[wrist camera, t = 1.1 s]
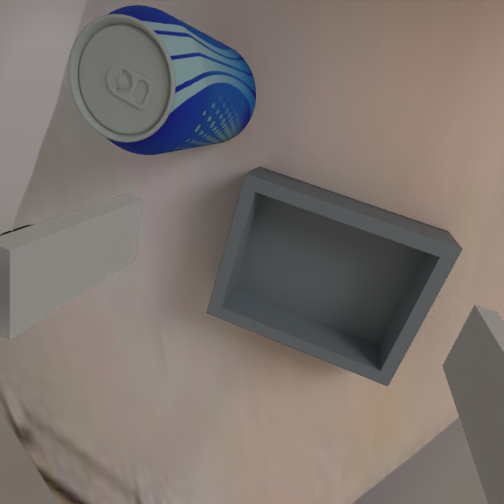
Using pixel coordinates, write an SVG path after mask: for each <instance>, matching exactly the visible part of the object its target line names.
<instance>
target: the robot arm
mask: <svg viewBox="0 0 504 504" xmlns="http://www.w3.org/2000/svg"><path fill="white" fill-rule="evenodd" d="M142 207H143V199H141V198H138V197H135V196H132V195H129V194H125V195H122V196H119V197H116V198H113V199H110V200H107V201H104V202H101V203H98V204H95V205H92V206H89V207H86V208H83V209H80V210H77V211H74V212H71V213H68V214H65V215H62V216H59V217H56V218H53V219H50V220H47V221H44V222H41V223H38V224H34V225H26V226H23V227H20V228H17V229H14V230H13V231H8V232H5V233H2V235H0V336H3V337H5V338H8V339H11V338H13V337H15V336H16V335H18V334H19V333H21V332H22V331H24V330H26V329H27V328H29V327H30V326H32V325H33V324H35V323H37V322H38V321H40V320H41V319H43V318H44V317H46V316H48V315H49V314H51V313H52V312H54V311H55V310H57V309H59V308H60V307H62V306H63V305H65V304H66V303H68V302H70V301H71V300H73V299H74V298H76V297H77V296H79V295H81V294H82V293H84V292H85V291H87V290H88V289H90V288H92V287H93V286H95V285H96V284H98V283H99V282H101V281H103V280H104V279H106V278H107V277H109V276H110V275H112V274H113V273H115V272H117V271H118V270H120V269H121V268H123V267H124V266H126V265H128V264H129V263H131V262H132V261H134V260H135V259H136V251H137V244H138V236H139V229H140V222H141V214H142ZM443 369H444V372H445V375H446V378H447V381H448V384H449V387H450V390H451V393H452V396H453V399H454V402H455V405H456V408H457V411H458V414H459V417H460V420H461V423H462V426H463V429H464V432H465V435H466V438H467V441H468V444H469V447H470V450H471V453H472V456H473V459H474V462H475V465H476V468H477V471H478V474H479V477H480V480H481V483H482V487H483V490H484V493H485V495H486V499H487V502H488V504H504V321H503V320H502V318H501V317H500V315H499V314H498V312H496V311H493V310H490V309H487V308H483V307H480V306H477V305H474V307H473V309H472V311H471V313H470V315H469V317H468V319H467V320H466V322H465V324H464V326H463V328H462V330H461V332H460V334H459V336H458V338H457V339H456V341H455V343H454V345H453V347H452V349H451V351H450V353H449V355H448V357H447V358H446V360H445V362H444V364H443Z"/></svg>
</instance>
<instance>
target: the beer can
mask: <svg viewBox="0 0 504 504" xmlns="http://www.w3.org/2000/svg"><path fill="white" fill-rule="evenodd" d="M68 73H69V84H70V89H71V93H72V96H73V99H74V102H75V104H76V106H77V108H78V110H79V112H80V114H81V115H82V117H83V118H84V119H85V121H86V122H87V123H88V124H89V125H90V126H91V127H92V128H93V129H94V130H95V131H97V132H98V133H100V134H101V135H103V136H105V137H106V138H107V139H109V140H110V141H111V142H112V143H114V144H115V145H117V146H119V147H121V148H122V149H124V150H127V151H129V152H132V153H136V154H143V155H155V154H161V153H167V152H172V151H178V150H183V149H189V148H194V147H200V146H205V145H211V144H216V143H221V142H225V141H228V140H230V139H232V138H233V137H235V136H236V135H238V134H239V133H240V132H241V131H242V130H243V129H244V128H245V126H246V125H247V124H248V122H249V120H250V118H251V116H252V114H253V111H254V107H255V101H256V87H255V81H254V78H253V75H252V72H251V70H250V68H249V66H248V64H247V63H246V61H245V60H244V59H243V58H242V57H241V56H240V55H239V54H238V53H237V52H236V51H235V50H233V49H232V48H230V47H228V46H226V45H224V44H223V43H221V42H219V41H217V40H215V39H213V38H211V37H210V36H208V35H206V34H204V33H202V32H200V31H198V30H197V29H195V28H193V27H191V26H189V25H187V24H186V23H184V22H182V21H180V20H178V19H176V18H174V17H173V16H171V15H169V14H167V13H165V12H163V11H161V10H158V9H156V8H152V7H148V6H140V5H136V6H127V7H123V8H120V9H117V10H115V11H113V12H111V13H109V14H108V15H105V16H102V17H99V18H97V19H95V20H94V21H92V22H91V23H89V24H88V25H87V26H86V27H85V28H84V29H83V30H82V31H81V33H80V34H79V35H78V37H77V39H76V41H75V43H74V45H73V48H72V51H71V54H70V59H69V69H68Z"/></svg>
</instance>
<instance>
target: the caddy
mask: <svg viewBox="0 0 504 504" xmlns="http://www.w3.org/2000/svg"><path fill="white" fill-rule="evenodd" d="M461 251H462V248H461V247H460V245H459V244H458V243H457V241H456V240H455V239H454V238H453V236H452V235H451V234H450V233H449V232H448V231H445V230H442V229H439V228H436V227H433V226H430V225H428V224H425V223H422V222H419V221H416V220H413V219H410V218H407V217H404V216H401V215H398V214H396V213H393V212H390V211H387V210H384V209H381V208H378V207H375V206H372V205H369V204H366V203H363V202H361V201H358V200H355V199H352V198H349V197H346V196H343V195H340V194H337V193H334V192H331V191H328V190H326V189H323V188H320V187H317V186H314V185H311V184H308V183H305V182H302V181H299V180H296V179H294V178H291V177H288V176H285V175H282V174H279V173H276V172H273V171H270V170H267V169H264V168H261V167H258V168H256V169H254V170H252V171H250V172H248V173H246V175H245V179H244V182H243V186H242V189H241V193H240V196H239V200H238V203H237V207H236V210H235V214H234V217H233V221H232V225H231V228H230V232H229V235H228V239H227V242H226V246H225V249H224V253H223V256H222V260H221V264H220V267H219V271H218V274H217V278H216V281H215V285H214V288H213V292H212V295H211V299H210V303H209V306H208V310H207V313H208V314H210V315H213V316H215V317H218V318H220V319H223V320H225V321H228V322H230V323H232V324H235V325H237V326H240V327H242V328H245V329H247V330H250V331H252V332H255V333H257V334H260V335H262V336H265V337H267V338H269V339H272V340H274V341H277V342H279V343H282V344H284V345H287V346H289V347H292V348H294V349H297V350H299V351H302V352H304V353H307V354H309V355H311V356H314V357H316V358H319V359H321V360H324V361H326V362H329V363H331V364H334V365H336V366H339V367H341V368H344V369H346V370H348V371H351V372H353V373H356V374H358V375H361V376H363V377H366V378H368V379H371V380H373V381H376V382H378V383H381V384H383V385H386V386H388V385H389V383H390V382H391V380H392V378H393V376H394V374H395V372H396V371H397V369H398V367H399V365H400V363H401V361H402V359H403V358H404V356H405V354H406V352H407V350H408V348H409V347H410V345H411V343H412V341H413V339H414V337H415V336H416V334H417V332H418V330H419V328H420V326H421V325H422V323H423V321H424V319H425V317H426V315H427V313H428V312H429V310H430V308H431V306H432V304H433V302H434V301H435V299H436V297H437V295H438V293H439V291H440V290H441V288H442V286H443V284H444V282H445V280H446V278H447V277H448V275H449V273H450V271H451V269H452V267H453V266H454V264H455V262H456V260H457V258H458V256H459V255H460V253H461Z"/></svg>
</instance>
